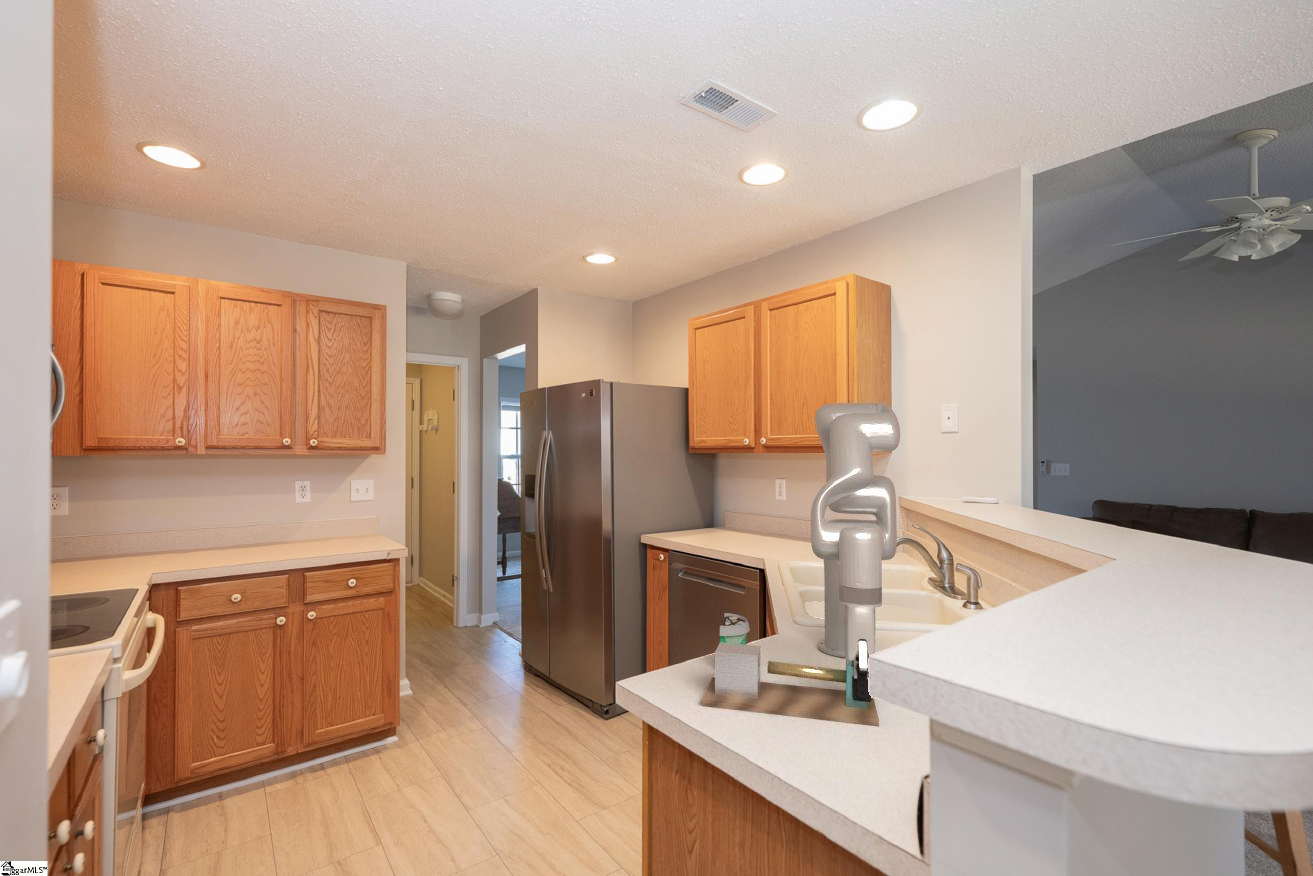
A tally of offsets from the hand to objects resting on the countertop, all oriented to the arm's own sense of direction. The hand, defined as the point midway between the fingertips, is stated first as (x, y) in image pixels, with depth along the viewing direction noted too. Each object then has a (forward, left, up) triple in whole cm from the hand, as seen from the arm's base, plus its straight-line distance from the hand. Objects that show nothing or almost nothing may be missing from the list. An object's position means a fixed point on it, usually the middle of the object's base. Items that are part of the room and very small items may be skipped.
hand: (860, 695), depth 108 cm
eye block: (+12, -19, -2) cm, 23 cm away
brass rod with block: (+4, -7, -1) cm, 8 cm away
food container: (-2, -31, -3) cm, 31 cm away
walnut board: (+7, -11, -3) cm, 13 cm away
